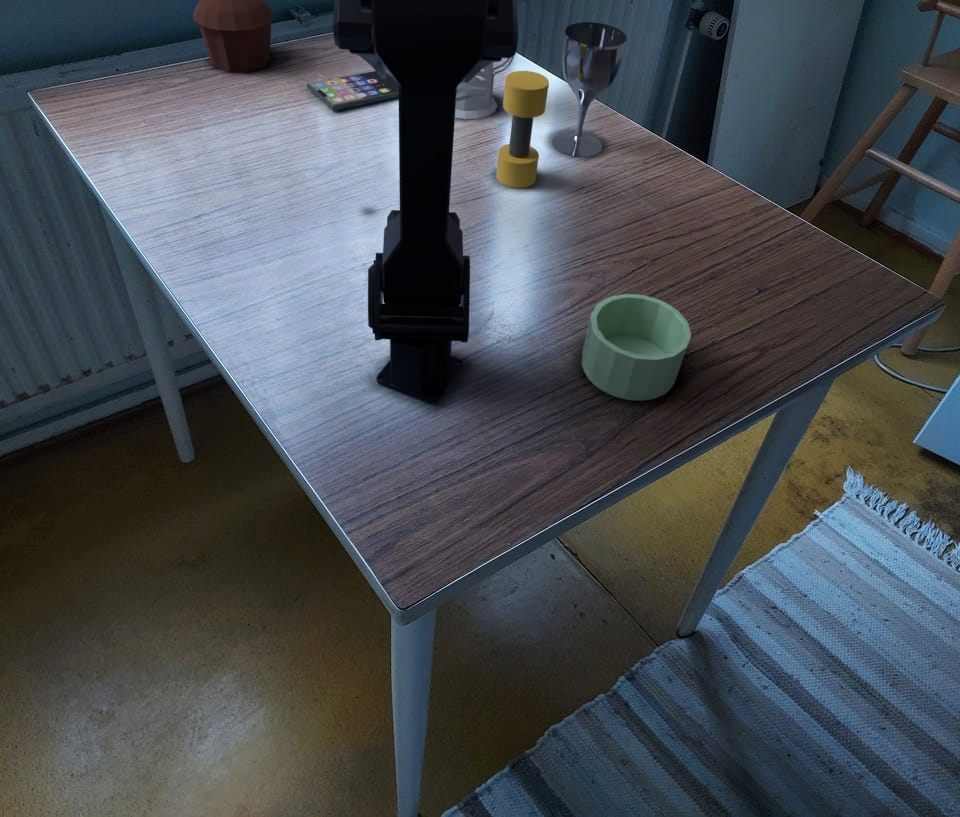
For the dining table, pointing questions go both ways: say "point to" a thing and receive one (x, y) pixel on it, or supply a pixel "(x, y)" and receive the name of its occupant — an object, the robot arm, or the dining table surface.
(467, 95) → the french press
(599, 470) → the dining table surface
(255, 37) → the muffin
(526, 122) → the dumbbell
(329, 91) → the smartphone
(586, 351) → the pot
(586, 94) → the wine glass
